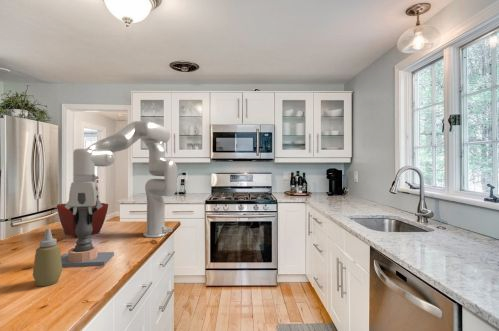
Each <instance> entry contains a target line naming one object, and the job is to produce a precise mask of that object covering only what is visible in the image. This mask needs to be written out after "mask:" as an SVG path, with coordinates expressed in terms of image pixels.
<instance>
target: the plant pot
mask: <svg viewBox="0 0 499 331" xmlns="http://www.w3.org/2000/svg"><path fill="white" fill-rule="evenodd" d="M66 204H67V202H66V203H59V204H56V207H57V213H58V218H59V221H60V225H61V227H62V230H63V232H64V234H65V235H67V236H69V237H72V238H74V239H78V236H77V235H76V233H75V229H76V226H77V225H75V222H74V215H73V213H72V212H71V211H70V210H69V209H67V208H65V205H66ZM101 204H102V205H103V206H102V207H101V208H99V209H98V210H97V211H96V212H95V213H94V220H93V222H92V223H91V225H92V228H93V230H92V233H91V234H90V236H93V235H97V234H98V235H99V234H100V232H101V230H102V229H103V226H104V222H105V221H106V217H107V212H108V209H109V203H104V202H101ZM95 207H97V205H95V206H94V208H95Z"/></svg>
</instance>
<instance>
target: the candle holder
mask: <svg viewBox="0 0 499 331" xmlns="http://www.w3.org/2000/svg"><path fill="white" fill-rule="evenodd" d="M77 201H79V204H84V203H85V201H86V197H85V193H78V200H77ZM77 209H78V211H79V218H78V223H77V226H76V229H75V233H76V235H77V236H78V238H77V240H76V242H75V244H76V245H75V246H74V248H75V252H85V251H89V250H92V249H93V246H94V245H93V243H92V242H93V240H92V238H91V235H90V234H91V233H92V230H93V228H92V225H91V224H88V214H89V210H88V207H77Z"/></svg>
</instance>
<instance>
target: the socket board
mask: <svg viewBox="0 0 499 331" xmlns="http://www.w3.org/2000/svg"><path fill="white" fill-rule="evenodd" d="M98 251H99V250H98V246H97V245H93V249H92V250H89V251H85V252H75V247H71V248H70V249H69V250H68V253H63V254H61V263H62V268H76V267H77V268H78V267H79V268H80V267H98V266H99V267H104V266H105V265H106V264H107V263H108V262H109V261H110V260H111V259H112V258H113V257H114V255H115V251H104V252H103V251H102V252H101V251H99V252H98Z"/></svg>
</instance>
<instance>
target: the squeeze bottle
mask: <svg viewBox="0 0 499 331" xmlns="http://www.w3.org/2000/svg"><path fill="white" fill-rule="evenodd" d="M51 230H52V229H51V228H47V229H45V231H44V232H45V233H44V237H43V239H41V240H39V246H38V247H37V248H36V249H35V255H34V265H33V270H32V276H33V279H34V282H35V285H36V286H39V287H44V286H45V287H46V286H51V285H54V284H56V283H58V282H59V280H60V277H61V275H62V272H63V267H62V263H61V255H62V254H61V247H60V245H59V244H58V243H57V238H53V235H52V231H51Z"/></svg>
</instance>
